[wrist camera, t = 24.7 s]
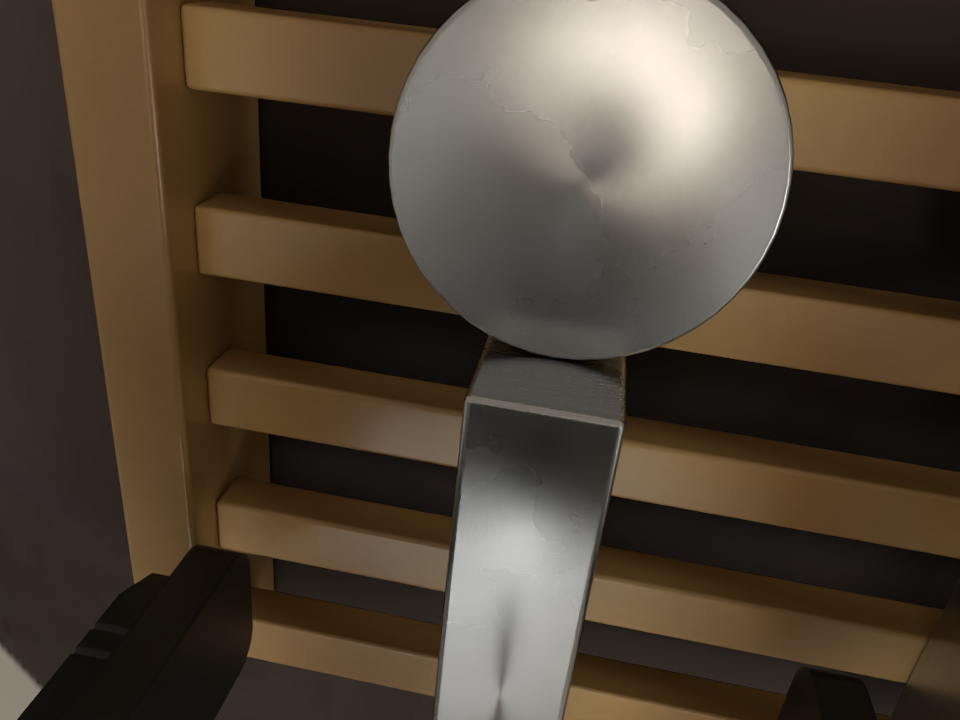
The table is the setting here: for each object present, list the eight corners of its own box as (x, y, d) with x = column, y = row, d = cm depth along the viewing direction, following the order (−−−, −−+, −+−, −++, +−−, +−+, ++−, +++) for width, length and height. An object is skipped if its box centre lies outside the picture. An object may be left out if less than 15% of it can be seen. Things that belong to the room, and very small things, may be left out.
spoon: (418, -65, 9) (358, -74, 7) (828, -21, 8) (891, -18, 6) (377, 738, 15) (339, 854, 13) (609, 789, 14) (606, 918, 12)
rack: (223, 583, 17) (147, 696, 14) (176, -66, 11) (36, -77, 9) (1198, 781, 15) (1322, 957, 12) (1748, 110, 9) (2205, 166, 6)
